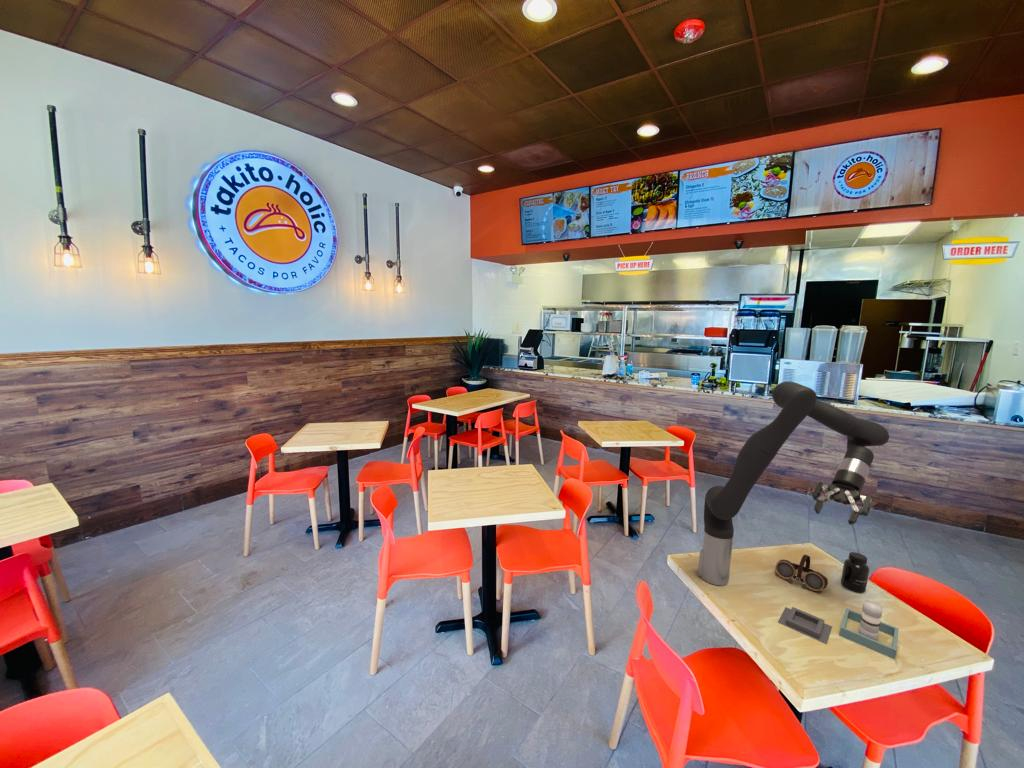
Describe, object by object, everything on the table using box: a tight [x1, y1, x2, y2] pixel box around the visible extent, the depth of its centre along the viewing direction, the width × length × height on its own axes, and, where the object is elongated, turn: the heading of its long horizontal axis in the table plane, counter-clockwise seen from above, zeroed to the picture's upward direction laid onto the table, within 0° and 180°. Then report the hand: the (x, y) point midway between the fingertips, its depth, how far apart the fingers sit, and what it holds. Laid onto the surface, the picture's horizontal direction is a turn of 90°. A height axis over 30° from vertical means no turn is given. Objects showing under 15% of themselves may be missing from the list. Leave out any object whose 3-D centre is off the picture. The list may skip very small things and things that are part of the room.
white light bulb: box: [858, 599, 884, 641], centre depth 120 cm, size 4×4×10 cm
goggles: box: [775, 554, 829, 592], centre depth 149 cm, size 15×13×10 cm
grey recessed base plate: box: [777, 606, 833, 645], centre depth 125 cm, size 12×10×2 cm
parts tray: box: [839, 608, 900, 660], centre depth 121 cm, size 12×12×4 cm
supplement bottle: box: [840, 551, 870, 594], centre depth 144 cm, size 7×7×12 cm
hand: (833, 517), depth 130 cm, fingers open, 8 cm apart
